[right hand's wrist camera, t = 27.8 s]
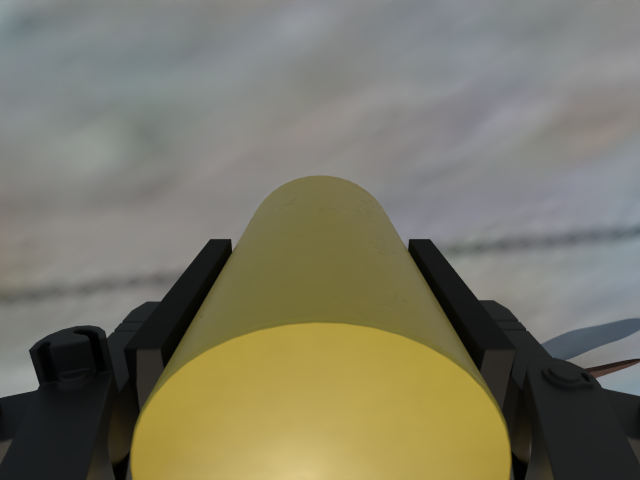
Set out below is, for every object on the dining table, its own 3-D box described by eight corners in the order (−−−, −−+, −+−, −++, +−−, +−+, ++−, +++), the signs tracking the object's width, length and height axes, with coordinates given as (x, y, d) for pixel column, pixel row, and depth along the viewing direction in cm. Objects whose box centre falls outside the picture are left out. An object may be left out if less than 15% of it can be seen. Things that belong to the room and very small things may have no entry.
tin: (298, 333, 18) (269, 636, 8) (218, 224, 17) (44, 435, 6) (418, 269, 17) (568, 527, 7) (347, 145, 15) (403, 238, 5)
